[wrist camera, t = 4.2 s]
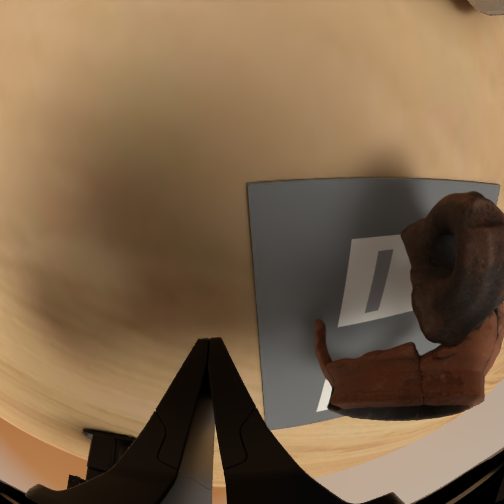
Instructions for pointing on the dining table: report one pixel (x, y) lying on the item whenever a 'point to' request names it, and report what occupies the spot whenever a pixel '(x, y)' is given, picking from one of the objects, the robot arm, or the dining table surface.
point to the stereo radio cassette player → (488, 6)
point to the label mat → (334, 278)
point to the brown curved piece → (434, 321)
